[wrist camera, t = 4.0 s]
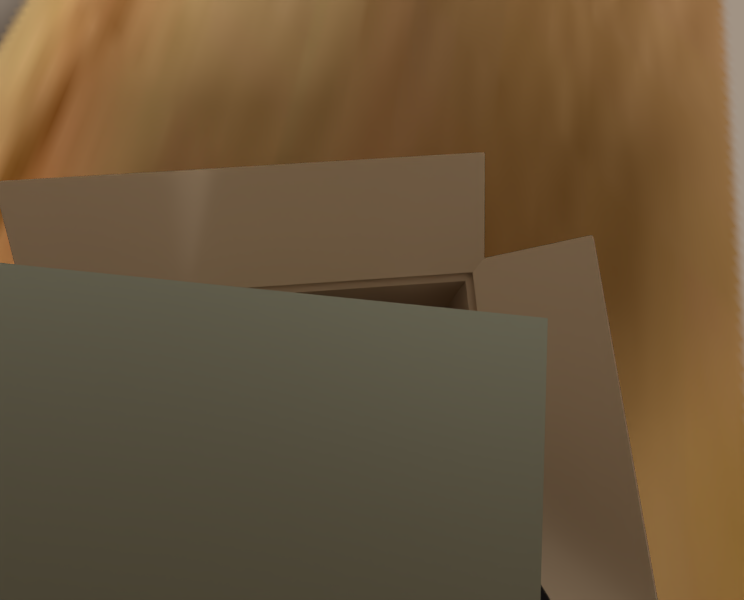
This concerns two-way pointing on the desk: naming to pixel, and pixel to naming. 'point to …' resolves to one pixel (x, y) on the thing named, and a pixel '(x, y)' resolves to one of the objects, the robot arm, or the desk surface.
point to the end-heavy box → (264, 444)
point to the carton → (382, 299)
